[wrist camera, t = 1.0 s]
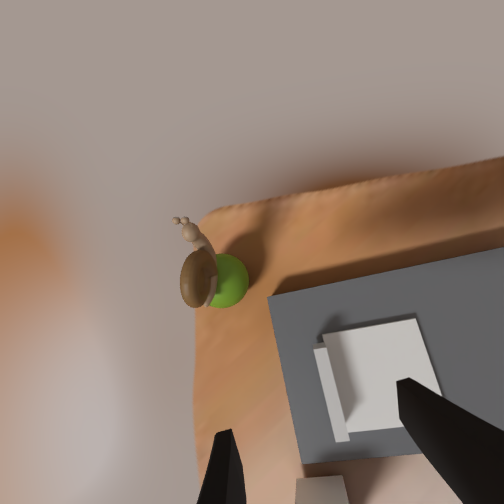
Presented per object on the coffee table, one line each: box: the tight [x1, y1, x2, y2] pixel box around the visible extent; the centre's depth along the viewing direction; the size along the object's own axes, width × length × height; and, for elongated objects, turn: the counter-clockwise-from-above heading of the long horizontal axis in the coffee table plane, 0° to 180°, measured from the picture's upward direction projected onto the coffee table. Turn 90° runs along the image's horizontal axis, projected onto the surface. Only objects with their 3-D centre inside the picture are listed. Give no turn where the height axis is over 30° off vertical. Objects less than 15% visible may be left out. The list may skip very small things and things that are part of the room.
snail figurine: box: [172, 217, 249, 308], centre depth 22 cm, size 5×6×12 cm
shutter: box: [313, 318, 442, 442], centre depth 19 cm, size 8×9×3 cm
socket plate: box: [267, 247, 504, 464], centre depth 21 cm, size 14×22×2 cm, turn 102°
